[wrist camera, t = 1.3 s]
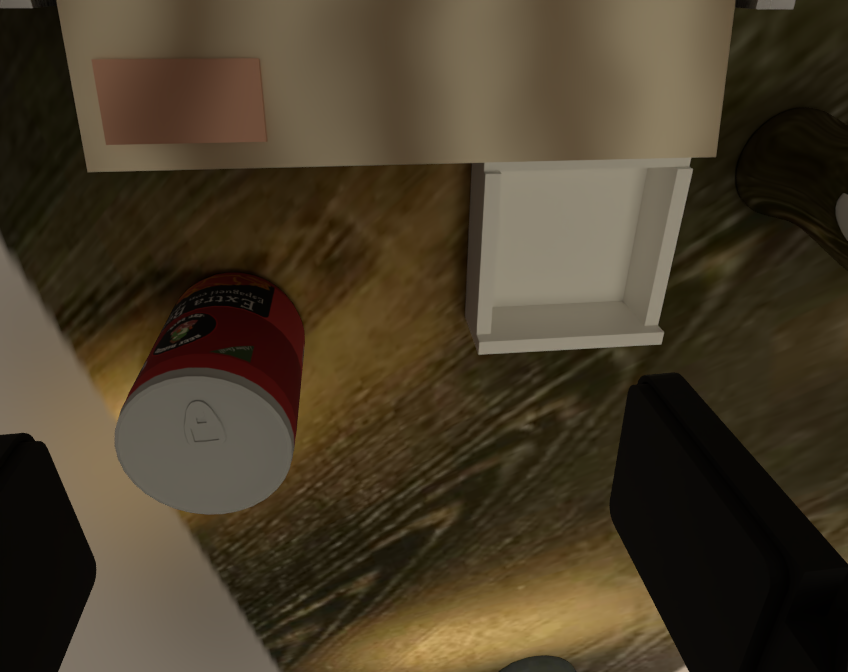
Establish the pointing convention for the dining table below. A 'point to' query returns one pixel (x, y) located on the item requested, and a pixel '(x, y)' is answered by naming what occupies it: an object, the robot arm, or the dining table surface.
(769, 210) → the beer glass
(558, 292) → the white open box
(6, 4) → the lever stand
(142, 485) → the canned food
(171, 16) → the lever
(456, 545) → the dining table surface
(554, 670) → the dark green cup
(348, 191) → the dining table surface
